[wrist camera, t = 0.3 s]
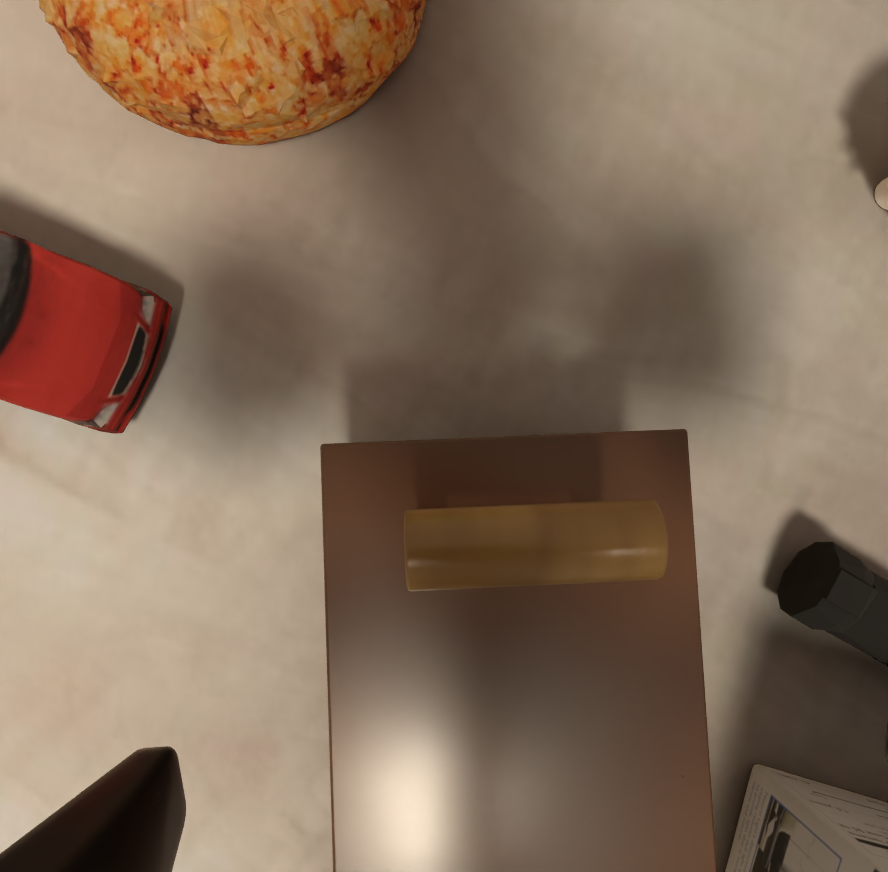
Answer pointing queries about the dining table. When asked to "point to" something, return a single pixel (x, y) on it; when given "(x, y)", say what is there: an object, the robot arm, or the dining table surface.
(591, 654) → the lid
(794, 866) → the light bulb box
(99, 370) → the toy car
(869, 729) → the dining table surface
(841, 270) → the dining table surface
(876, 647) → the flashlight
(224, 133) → the bagel
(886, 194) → the toy creature
